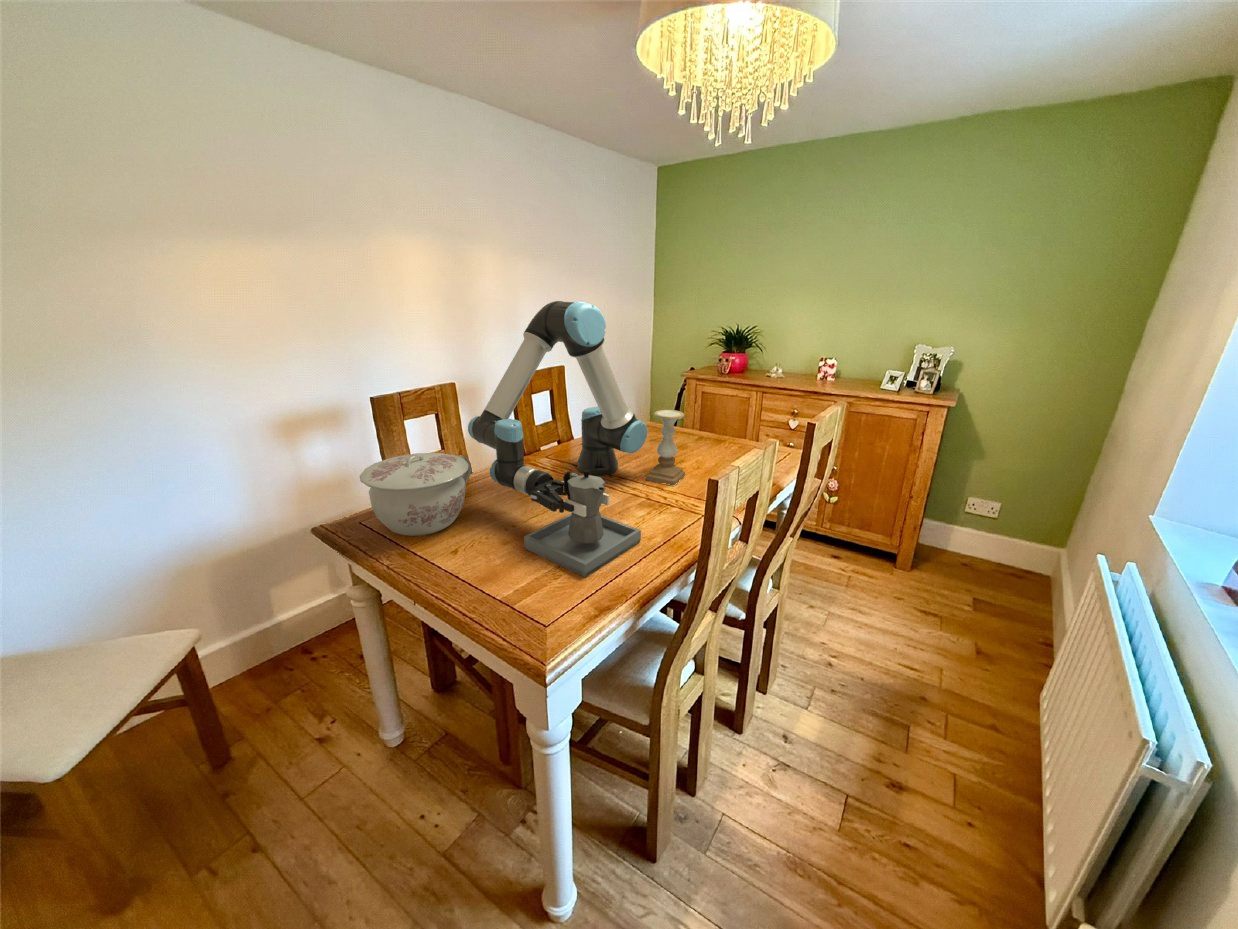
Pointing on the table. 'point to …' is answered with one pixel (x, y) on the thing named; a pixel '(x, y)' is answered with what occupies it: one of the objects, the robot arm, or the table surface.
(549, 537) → the charcoal dish
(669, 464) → the candle holder
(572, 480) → the coffeepot
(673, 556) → the table surface
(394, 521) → the chamber pot
